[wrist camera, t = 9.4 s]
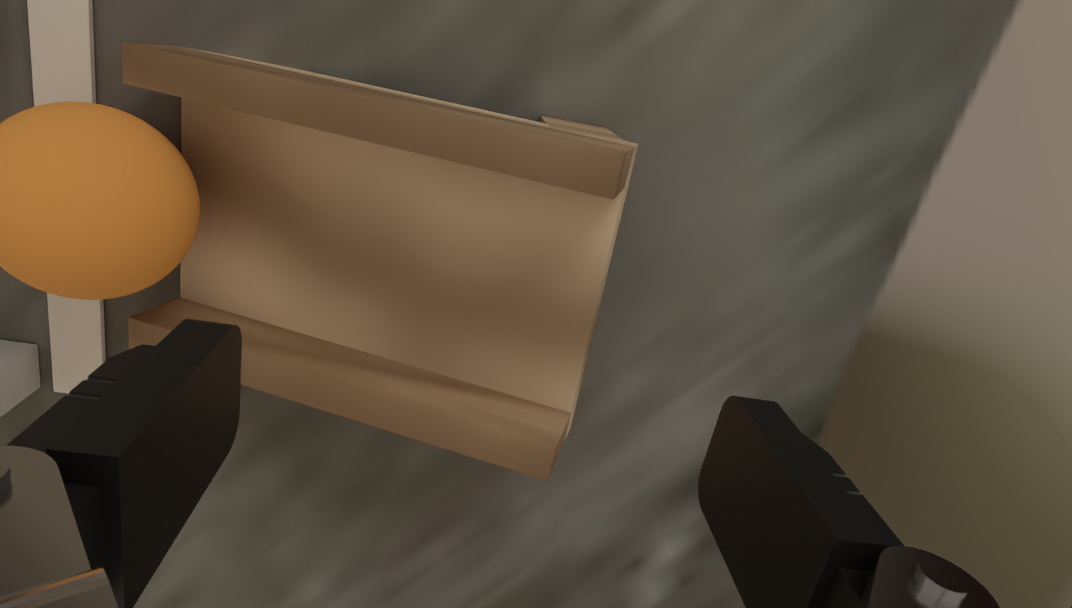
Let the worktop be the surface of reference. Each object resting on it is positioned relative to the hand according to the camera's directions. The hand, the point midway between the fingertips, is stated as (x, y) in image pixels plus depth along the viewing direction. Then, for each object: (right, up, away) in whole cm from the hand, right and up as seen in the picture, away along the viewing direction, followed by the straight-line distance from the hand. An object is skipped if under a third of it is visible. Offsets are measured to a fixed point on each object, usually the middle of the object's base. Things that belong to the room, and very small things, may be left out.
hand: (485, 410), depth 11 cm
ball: (-11, +4, +6) cm, 13 cm away
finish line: (-13, +5, +8) cm, 16 cm away
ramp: (-4, +4, +9) cm, 11 cm away
